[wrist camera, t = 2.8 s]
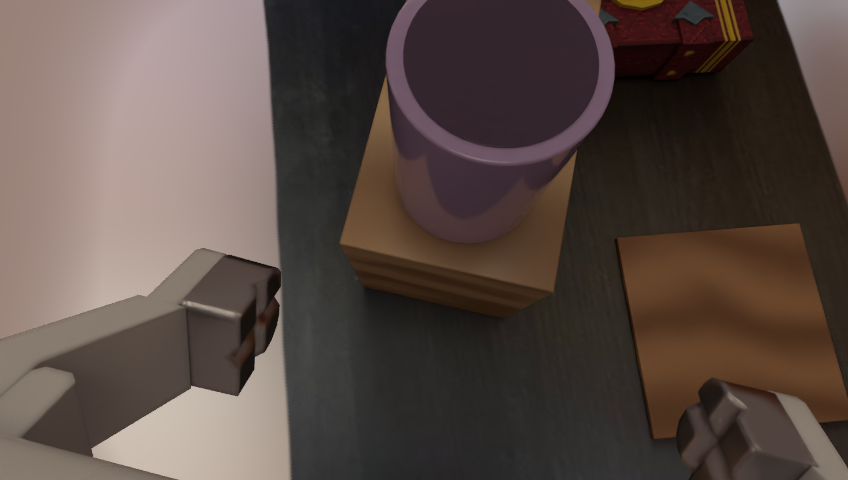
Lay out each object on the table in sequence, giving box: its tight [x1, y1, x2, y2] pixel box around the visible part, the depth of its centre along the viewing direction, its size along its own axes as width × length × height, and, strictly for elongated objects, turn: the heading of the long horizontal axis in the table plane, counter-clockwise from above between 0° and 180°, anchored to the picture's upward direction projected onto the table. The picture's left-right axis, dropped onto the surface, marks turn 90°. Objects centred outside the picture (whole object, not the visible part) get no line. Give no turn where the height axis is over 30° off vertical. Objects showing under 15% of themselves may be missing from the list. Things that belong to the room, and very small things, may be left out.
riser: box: [340, 0, 601, 319], centre depth 30 cm, size 17×10×12 cm, turn 167°
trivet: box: [615, 224, 848, 439], centre depth 34 cm, size 13×13×1 cm
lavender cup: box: [386, 0, 615, 244], centre depth 19 cm, size 7×7×9 cm
